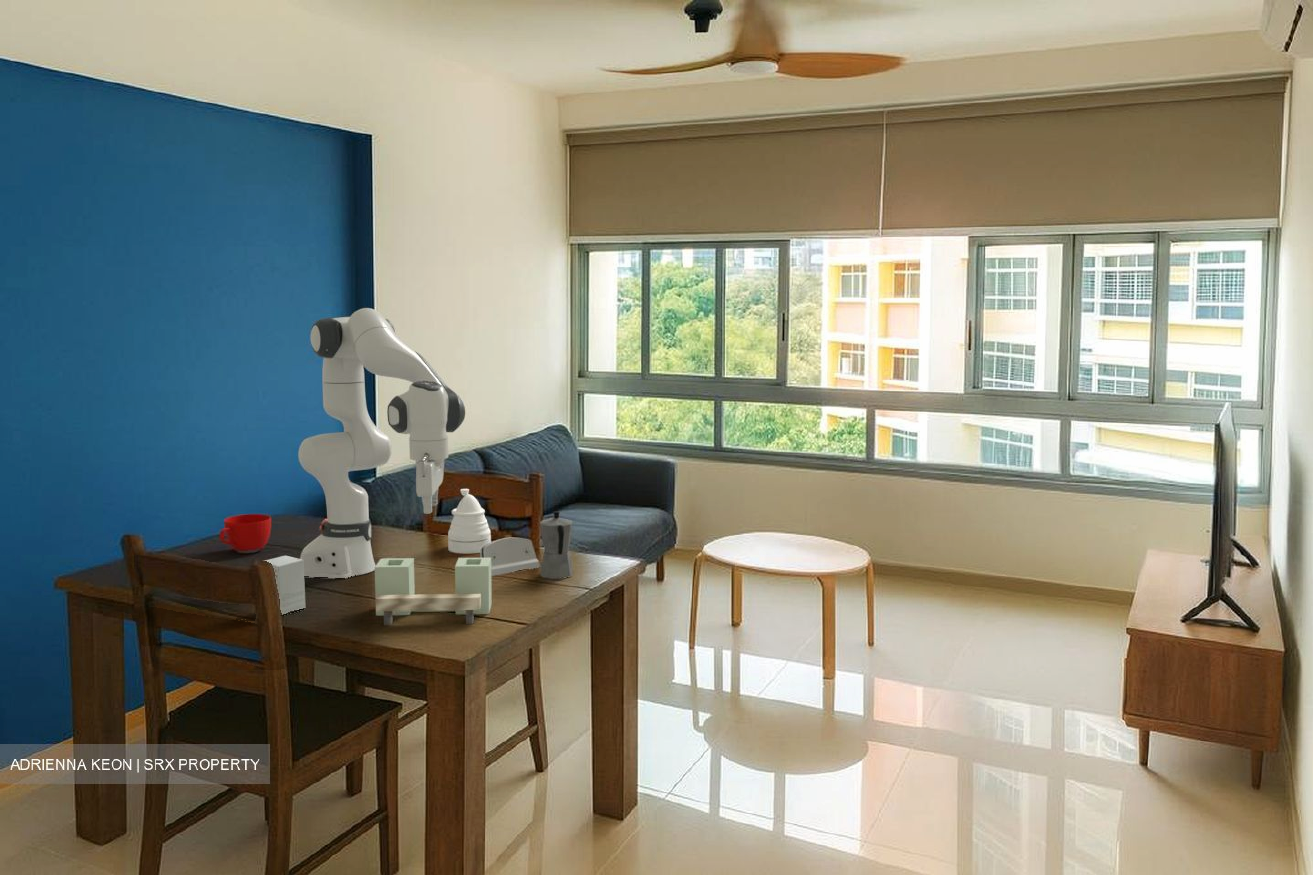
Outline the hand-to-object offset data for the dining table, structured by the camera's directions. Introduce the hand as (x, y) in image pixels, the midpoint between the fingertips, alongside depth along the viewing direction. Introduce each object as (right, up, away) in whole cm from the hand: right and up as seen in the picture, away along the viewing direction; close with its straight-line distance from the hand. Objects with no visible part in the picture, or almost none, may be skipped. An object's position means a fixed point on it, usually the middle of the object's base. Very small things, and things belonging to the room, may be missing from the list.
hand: (430, 509), depth 238 cm
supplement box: (-38, -26, +9) cm, 46 cm away
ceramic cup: (-69, -18, +62) cm, 95 cm away
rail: (-1, -27, +1) cm, 27 cm away
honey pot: (-4, -17, +71) cm, 73 cm away
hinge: (+11, -21, +48) cm, 54 cm away
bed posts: (-1, -26, +11) cm, 28 cm away
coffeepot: (+26, -22, +42) cm, 54 cm away
